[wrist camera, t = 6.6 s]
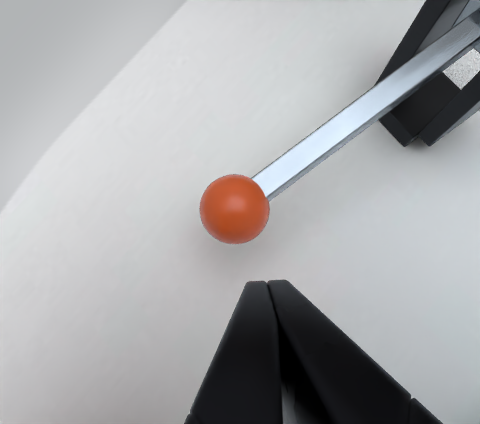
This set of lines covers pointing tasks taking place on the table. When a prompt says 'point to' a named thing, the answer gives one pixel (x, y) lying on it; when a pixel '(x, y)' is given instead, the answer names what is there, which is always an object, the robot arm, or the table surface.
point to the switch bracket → (430, 82)
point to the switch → (329, 137)
